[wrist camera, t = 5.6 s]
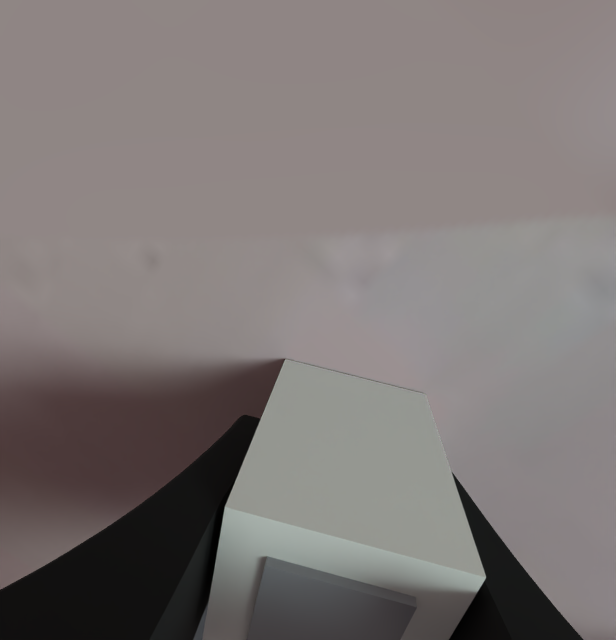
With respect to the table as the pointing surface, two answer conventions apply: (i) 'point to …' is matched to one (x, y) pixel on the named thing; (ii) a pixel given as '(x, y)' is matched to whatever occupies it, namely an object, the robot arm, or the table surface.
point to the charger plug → (343, 520)
